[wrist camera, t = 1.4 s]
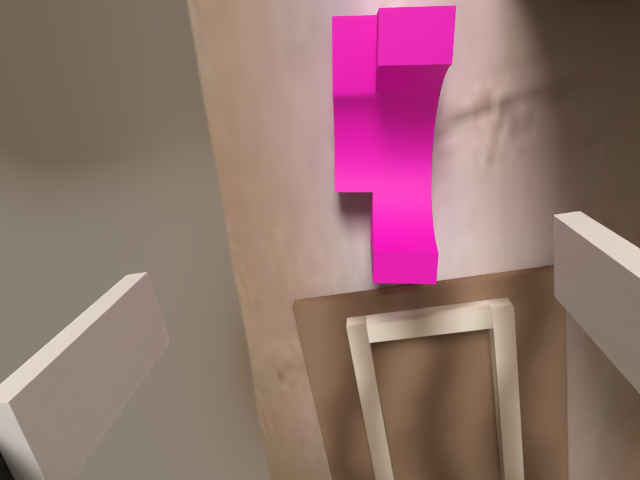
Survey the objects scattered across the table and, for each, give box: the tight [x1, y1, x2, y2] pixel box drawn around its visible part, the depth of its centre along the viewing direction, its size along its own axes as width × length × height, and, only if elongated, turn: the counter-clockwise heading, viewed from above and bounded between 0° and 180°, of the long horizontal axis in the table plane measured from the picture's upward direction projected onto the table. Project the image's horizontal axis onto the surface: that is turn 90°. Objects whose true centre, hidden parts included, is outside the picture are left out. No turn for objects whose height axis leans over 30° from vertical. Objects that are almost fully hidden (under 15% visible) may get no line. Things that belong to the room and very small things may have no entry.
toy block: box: [332, 6, 456, 284], centre depth 29 cm, size 15×6×8 cm, turn 1°
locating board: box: [293, 265, 568, 480], centre depth 38 cm, size 20×24×3 cm
